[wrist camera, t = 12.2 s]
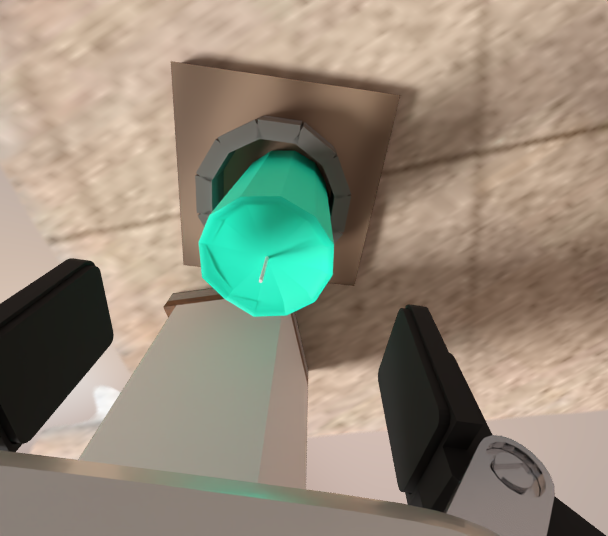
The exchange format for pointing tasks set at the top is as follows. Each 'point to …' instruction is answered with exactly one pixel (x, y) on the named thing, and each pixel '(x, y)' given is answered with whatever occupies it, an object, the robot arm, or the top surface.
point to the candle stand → (279, 146)
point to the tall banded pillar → (214, 397)
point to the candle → (271, 237)
